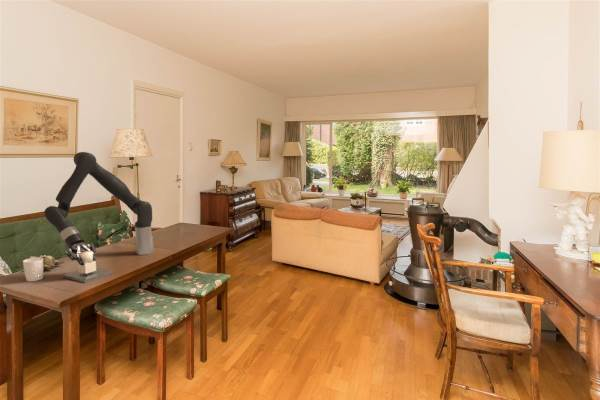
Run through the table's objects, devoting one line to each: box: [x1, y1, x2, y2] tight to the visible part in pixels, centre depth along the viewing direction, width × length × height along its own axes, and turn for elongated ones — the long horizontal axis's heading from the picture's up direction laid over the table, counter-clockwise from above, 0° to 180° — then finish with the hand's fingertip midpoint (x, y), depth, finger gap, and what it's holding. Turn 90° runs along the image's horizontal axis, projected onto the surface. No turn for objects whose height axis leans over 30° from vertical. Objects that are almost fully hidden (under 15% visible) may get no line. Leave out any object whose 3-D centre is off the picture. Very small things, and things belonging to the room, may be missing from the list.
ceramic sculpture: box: [29, 253, 66, 271], centre depth 182 cm, size 11×9×15 cm
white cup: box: [22, 256, 44, 283], centre depth 166 cm, size 8×8×10 cm
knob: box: [77, 250, 97, 274], centre depth 171 cm, size 6×6×10 cm
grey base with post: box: [63, 267, 112, 284], centre depth 172 cm, size 14×16×6 cm
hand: (89, 262), depth 171 cm, fingers closed on knob, 5 cm apart
